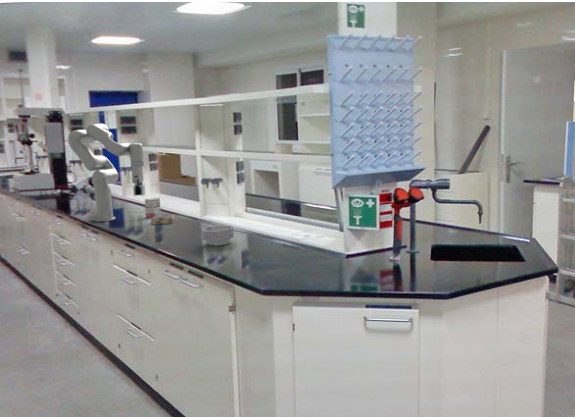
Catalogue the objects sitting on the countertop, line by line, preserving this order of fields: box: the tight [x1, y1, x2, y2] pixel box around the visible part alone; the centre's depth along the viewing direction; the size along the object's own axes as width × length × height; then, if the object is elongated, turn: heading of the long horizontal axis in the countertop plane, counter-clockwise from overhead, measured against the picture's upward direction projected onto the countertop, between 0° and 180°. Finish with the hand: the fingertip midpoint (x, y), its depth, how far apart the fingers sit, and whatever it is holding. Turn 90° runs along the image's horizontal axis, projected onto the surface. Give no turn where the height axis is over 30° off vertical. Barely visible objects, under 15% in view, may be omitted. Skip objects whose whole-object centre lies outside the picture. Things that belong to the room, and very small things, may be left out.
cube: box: [132, 184, 146, 197], centre depth 337 cm, size 6×6×6 cm
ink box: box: [144, 197, 162, 219], centre depth 356 cm, size 9×5×12 cm, turn 143°
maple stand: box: [150, 214, 176, 225], centre depth 337 cm, size 12×12×3 cm
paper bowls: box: [201, 225, 235, 247], centre depth 272 cm, size 15×15×8 cm
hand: (139, 193), depth 337 cm, fingers closed on cube, 5 cm apart
